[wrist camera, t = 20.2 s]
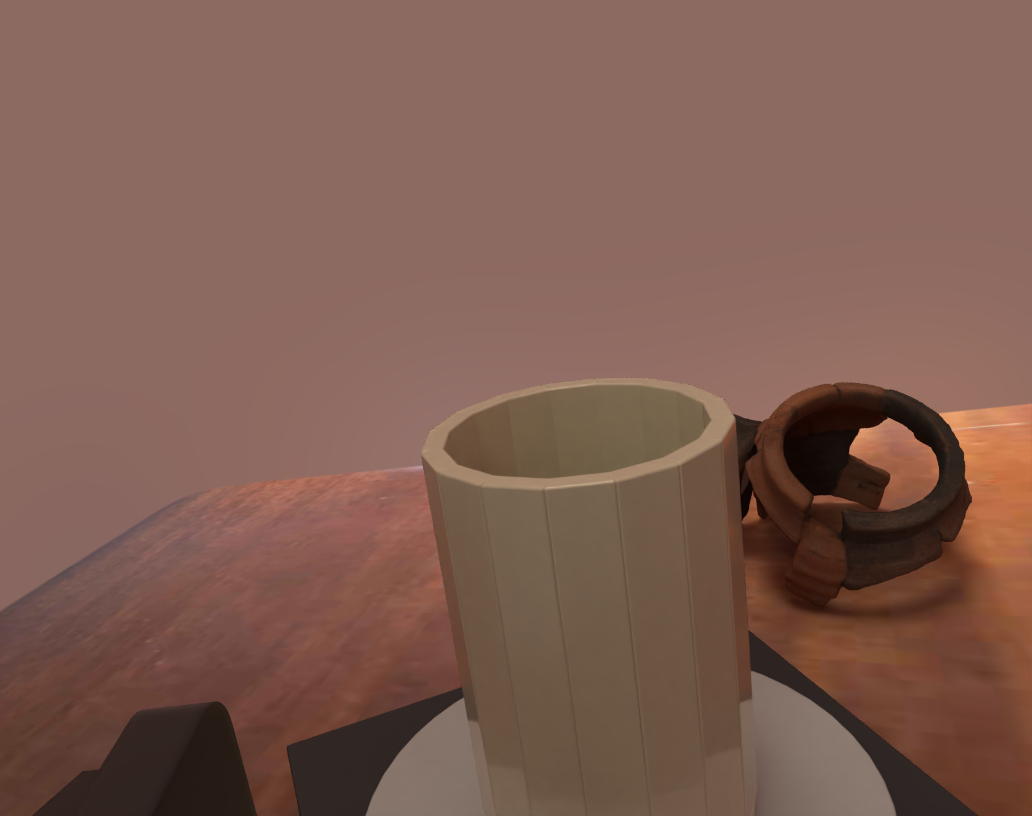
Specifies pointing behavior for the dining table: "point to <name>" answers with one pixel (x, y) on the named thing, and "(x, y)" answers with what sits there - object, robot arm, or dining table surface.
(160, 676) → the dining table surface
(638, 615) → the cup
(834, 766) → the scale
